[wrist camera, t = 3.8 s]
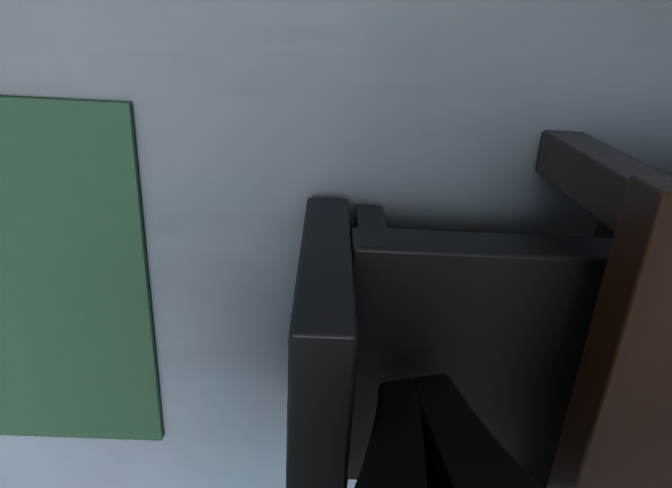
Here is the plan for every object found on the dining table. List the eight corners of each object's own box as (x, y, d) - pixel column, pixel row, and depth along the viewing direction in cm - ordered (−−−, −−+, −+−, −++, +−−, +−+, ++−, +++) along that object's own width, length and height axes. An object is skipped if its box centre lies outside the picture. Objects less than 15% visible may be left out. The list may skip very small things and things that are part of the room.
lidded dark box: (301, 396, 16) (283, 611, 10) (307, 196, 13) (288, 332, 8) (578, 406, 16) (712, 624, 10) (633, 211, 14) (844, 355, 8)
